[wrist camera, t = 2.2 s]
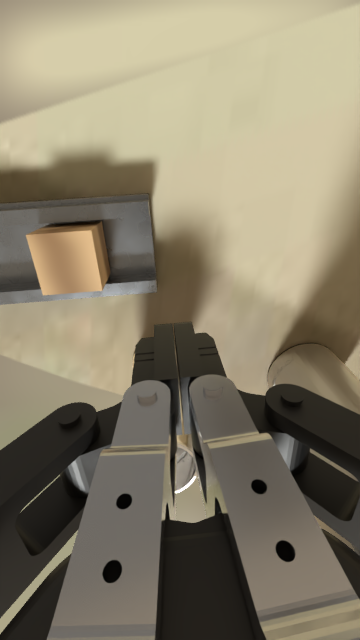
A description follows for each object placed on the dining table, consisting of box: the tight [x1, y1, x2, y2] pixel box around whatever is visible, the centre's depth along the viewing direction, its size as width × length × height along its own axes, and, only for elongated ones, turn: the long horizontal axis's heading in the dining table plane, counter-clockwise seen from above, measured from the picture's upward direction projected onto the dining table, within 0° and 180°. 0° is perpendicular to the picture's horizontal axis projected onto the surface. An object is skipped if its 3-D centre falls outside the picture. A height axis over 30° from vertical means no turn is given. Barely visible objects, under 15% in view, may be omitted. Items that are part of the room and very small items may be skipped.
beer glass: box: [132, 348, 197, 494], centre depth 30 cm, size 7×7×15 cm
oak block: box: [26, 221, 111, 295], centre depth 26 cm, size 5×5×5 cm
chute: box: [0, 193, 157, 305], centre depth 28 cm, size 22×9×4 cm, turn 94°
